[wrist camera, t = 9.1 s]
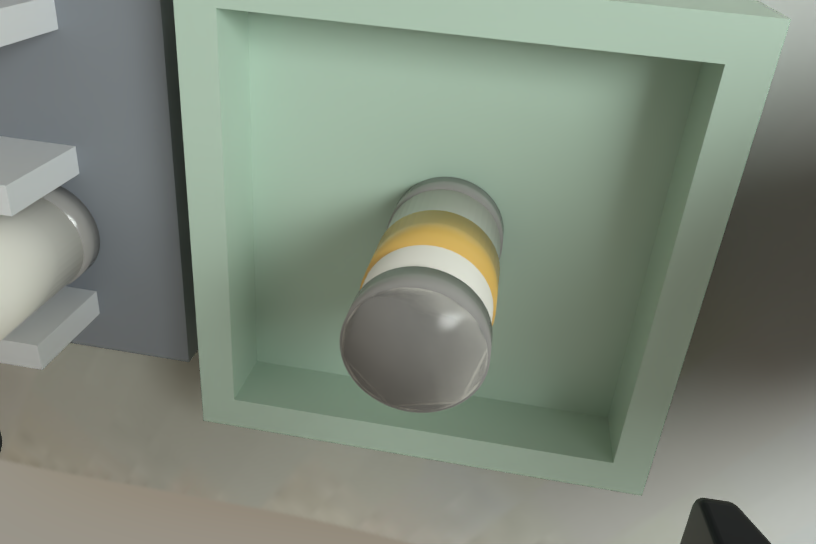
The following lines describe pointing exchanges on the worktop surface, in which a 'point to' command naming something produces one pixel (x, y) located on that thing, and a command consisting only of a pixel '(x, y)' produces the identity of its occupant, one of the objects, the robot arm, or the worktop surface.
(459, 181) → the fuse marked
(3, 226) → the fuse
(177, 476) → the worktop surface
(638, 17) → the tray
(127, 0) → the fuse panel
